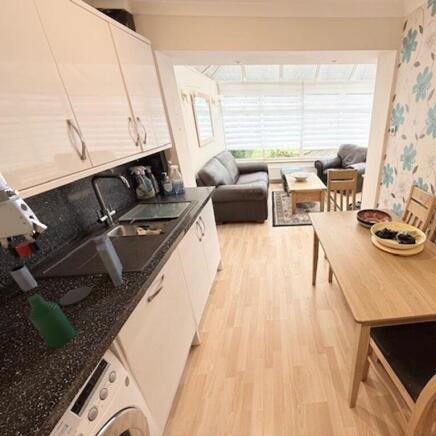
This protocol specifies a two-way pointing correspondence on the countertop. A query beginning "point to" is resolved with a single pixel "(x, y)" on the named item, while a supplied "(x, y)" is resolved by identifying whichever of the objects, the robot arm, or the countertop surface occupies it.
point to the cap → (23, 249)
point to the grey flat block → (109, 258)
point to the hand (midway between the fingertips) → (29, 253)
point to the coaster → (75, 296)
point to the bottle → (50, 322)
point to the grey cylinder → (23, 277)
